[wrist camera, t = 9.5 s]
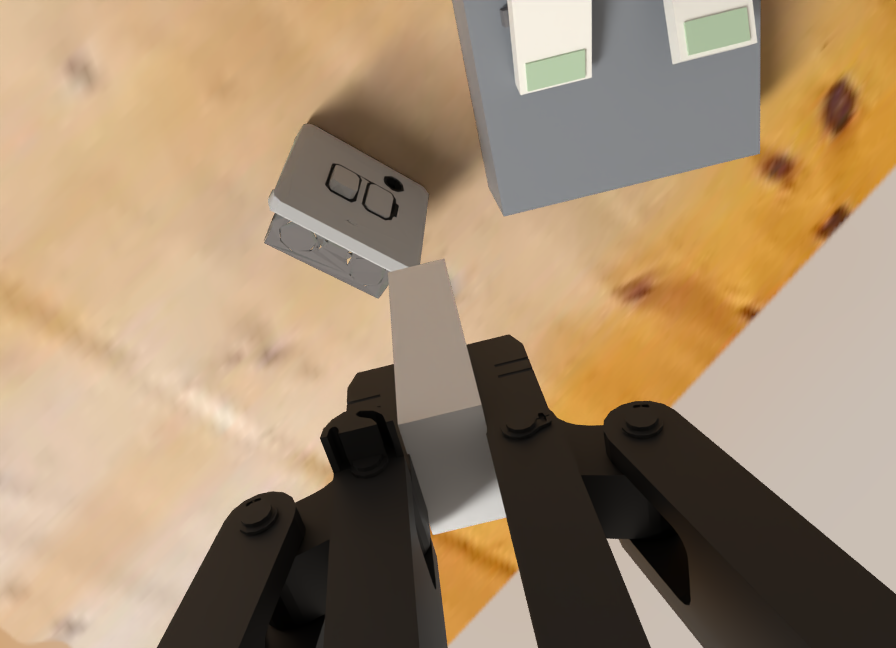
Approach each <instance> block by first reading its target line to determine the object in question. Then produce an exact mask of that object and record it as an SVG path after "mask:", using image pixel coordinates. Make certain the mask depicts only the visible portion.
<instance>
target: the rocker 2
mask: <svg viewBox="0 0 896 648" xmlns="http://www.w3.org/2000/svg"><path fill="white" fill-rule="evenodd" d="M663 3H664V10H665V17H666V23H667V30H668V37H669V44H670V51H671V57H672V64H677V63H681V62H685V61H689V60H693V59H697V58H701V57H705V56H709V55H713V54H717V53H721V52H725V51H729V50H733V49H737V48H741V47H745V46H749V45H752V44H755V43H757V36H756V27H755V18H754V10H753V1H752V0H663Z"/></svg>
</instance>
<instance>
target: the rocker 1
mask: <svg viewBox="0 0 896 648" xmlns="http://www.w3.org/2000/svg"><path fill="white" fill-rule="evenodd" d="M507 4H508V14H509V25H510V35H511V45H512V55H513V65H514V75H515V84H516V86H517V89H518V91H519V93H520V95H523V94H528V93H532V92H536V91H540V90H544V89H548V88H552V87H556V86H560V85H564V84H568V83H572V82H576V81H580V80H584V79H588V78H592V0H507Z"/></svg>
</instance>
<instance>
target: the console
mask: <svg viewBox="0 0 896 648" xmlns="http://www.w3.org/2000/svg"><path fill="white" fill-rule="evenodd" d="M752 1H753V10H754V18H755V27H756V36H757V43H755V44H752V45H749V46H745V47H741V48H737V49H733V50H729V51H725V52H721V53H717V54H713V55H709V56H705V57H701V58H697V59H693V60H689V61H685V62H681V63H677V64H672V57H671V51H670V44H669V37H668V30H667V23H666V17H665V10H664V3H663V0H592V78H588V79H584V80H580V81H576V82H572V83H568V84H564V85H560V86H556V87H552V88H548V89H544V90H540V91H536V92H532V93H528V94H523V95H520V93H519V91H518V89H517V86H516V84H515V75H514V65H513V55H512V45H511V35H510V25H509V14H508V4H507V0H452V3H453V8H454V13H455V18H456V23H457V28H458V34H459V39H460V44H461V49H462V54H463V59H464V64H465V69H466V74H467V79H468V85H469V90H470V95H471V100H472V105H473V110H474V115H475V120H476V125H477V131H478V136H479V141H480V146H481V151H482V156H483V161H484V166H485V171H486V176H487V182H488V187H489V189H490V191H491V193H492V195H493V197H494V199H495V201H496V202H497V204H498V206H499V208H500V210H501V212H502V214H503V216H508V215H512V214H516V213H520V212H524V211H528V210H532V209H536V208H540V207H544V206H549V205H553V204H557V203H561V202H565V201H569V200H573V199H577V198H581V197H585V196H589V195H593V194H597V193H601V192H606V191H610V190H614V189H618V188H622V187H626V186H630V185H634V184H638V183H642V182H646V181H650V180H654V179H658V178H662V177H667V176H671V175H675V174H679V173H683V172H687V171H691V170H695V169H699V168H703V167H707V166H711V165H715V164H719V163H724V162H728V161H732V160H736V159H740V158H744V157H748V156H752V155H756V154H760V12H761V0H752Z"/></svg>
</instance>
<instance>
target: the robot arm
mask: <svg viewBox="0 0 896 648" xmlns="http://www.w3.org/2000/svg"><path fill="white" fill-rule="evenodd" d="M388 282H389V297H390V312H391V328H392V343H393V358H394V364H392V365H388V366H384V367H380V368H376V369H372V370H368V371H364V372H359V373H357V374H356V376H355V377H354V379H353V380H352V382H351V383H350V385H349V387H348V390H347V411H346V412H343V413H342V414H340V415H339V416H337V417H335V418H334V419H332V420H331V421H330V422H329V423H328V424H327V426H326V427H325V428H324V429H323V431H322V434H321V437H320V439H321V442H322V445H323V447H324V450H325V452H326V455H327V457H328V460H329V462H330V465H331V467H332V470H333V472H334V478H333V481H332V482H330V483H329V484H328V485H327V486H325V487H324V488H323V489H321V490H319V491H317V492H316V493H314V494H312V495H310V496H308V497H306V498H304V499H302V500H300V501H298V502H296V503H295V502H294V500H293V498H292V497H291V496H289V495H287V494H286V493H284V492H273V491H272V492H267V493H262V494H258V495H256V496H254V497H252V498H250V499H248V500H246V501H244V502H243V503H241V504H240V505H239V506H238V507H236V508H235V509H234V510H233V511H232V512H231V513H230V515H229V516H228V517H227V519H226V520H225V521H224V523H223V525H222V527H221V529H220V531H219V532H218V534H217V536H216V538H215V540H214V542H213V544H212V546H211V547H210V549H209V551H208V553H207V555H206V557H205V559H204V561H203V562H202V564H201V566H200V568H199V570H198V572H197V574H196V575H195V577H194V579H193V581H192V583H191V585H190V587H189V589H188V590H187V592H186V594H185V596H184V598H183V600H182V602H181V604H180V605H179V607H178V609H177V611H176V613H175V615H174V617H173V619H172V620H171V622H170V624H169V626H168V628H167V630H166V632H165V634H164V635H163V637H162V639H161V641H160V643H159V645H158V647H157V648H448V647H447V639H446V630H445V622H444V614H443V605H442V597H441V589H440V580H439V572H438V563H437V556H436V553H435V550H434V546H433V543H432V540H431V536H430V527H431V530H432V533H433V535H435V534H439V533H443V532H447V531H451V530H456V529H460V528H464V527H468V526H472V525H476V524H481V523H485V522H489V521H493V520H497V519H501V518H507V522H508V526H509V530H510V534H511V539H512V543H513V547H514V551H515V555H516V559H517V563H518V567H519V571H520V575H521V579H522V583H523V588H524V592H525V596H526V600H527V604H528V608H529V612H530V617H531V620H532V625H533V629H534V633H535V637H536V641H537V645H538V648H651V647H650V645H649V642H648V640H647V637H646V635H645V632H644V630H643V627H642V625H641V622H640V620H639V617H638V615H637V613H636V610H635V608H634V605H633V603H632V600H631V598H630V595H629V593H628V591H627V588H626V586H625V583H624V581H623V578H622V576H621V573H620V571H619V568H618V566H617V564H616V561H615V558H614V556H613V553H612V551H611V549H610V546H609V544H608V541H607V539H606V538H610V539H619V540H620V543H621V545H622V547H623V548H624V549H625V551H626V552H627V553H628V554H629V556H630V557H631V558H632V559H633V561H634V562H635V563H636V564H637V566H639V568H640V569H641V571H642V572H643V573H644V574H645V575H646V577H647V578H648V579H649V580H650V582H651V583H652V584H653V585H654V587H655V588H656V589H657V590H658V592H659V593H660V594H661V595H662V597H663V598H664V599H665V600H666V602H667V603H668V604H669V605H670V607H671V608H672V609H673V610H674V611H675V613H676V614H677V615H678V617H679V618H680V619H681V620H682V621H683V622H684V624H685V625H686V626H687V628H688V629H689V630H690V631H691V633H692V634H693V635H694V636H695V638H696V639H697V640H698V641H699V642H700V644H701V645H702V646H703V648H896V594H895V593H894V592H893V591H892V590H890V589H889V588H888V587H887V586H885V585H884V584H883V583H882V582H881V581H879V580H878V579H877V578H876V577H875V576H873V575H872V574H871V573H870V572H869V571H867V570H866V569H865V568H864V567H863V566H861V565H860V564H859V563H858V562H857V561H855V560H854V559H853V558H852V557H851V556H849V555H848V554H847V553H846V552H845V551H843V550H842V549H841V548H840V547H838V546H837V545H836V544H835V543H834V542H832V541H831V540H830V539H829V538H828V537H826V536H825V535H824V534H823V533H822V532H821V531H819V530H818V529H817V528H816V527H815V526H813V525H812V524H811V523H810V522H809V521H807V520H806V519H805V518H804V517H803V516H801V515H800V514H799V513H798V512H797V511H795V510H794V509H793V508H792V507H791V506H789V505H788V504H787V503H786V502H785V501H783V500H782V499H781V498H780V497H779V496H777V495H776V494H775V493H774V492H773V491H771V490H770V489H769V488H768V487H767V486H765V485H764V484H763V483H762V482H760V481H759V480H758V479H757V478H756V477H754V476H753V475H752V474H751V473H750V472H749V471H747V470H746V469H745V468H744V467H742V466H741V465H740V464H739V463H738V462H736V461H735V460H734V459H733V458H732V457H730V456H729V455H728V454H727V453H726V452H725V451H723V450H722V449H721V448H720V447H719V446H717V445H716V444H715V443H714V442H712V441H711V440H710V439H709V438H708V437H706V436H705V435H704V434H703V433H702V432H700V431H699V430H698V429H697V428H696V427H694V426H693V425H692V424H691V423H690V422H688V421H687V420H686V419H685V418H684V417H682V416H681V415H680V414H679V413H678V412H676V411H675V410H674V409H672V408H670V407H668V406H666V405H665V404H661V403H656V402H652V401H635V402H631V403H627V404H623V405H621V406H619V407H617V408H616V409H614V410H612V411H611V412H610V413H609V414H608V416H607V417H606V418H605V420H604V425H596V426H586V425H575V424H571V423H567V422H565V421H562V420H560V419H558V418H557V417H556V416H555V415H554V413H553V412H552V411H551V410H549V408H548V406H547V403H546V401H545V399H544V396H543V394H542V391H541V389H540V386H539V384H538V381H537V379H536V376H535V374H534V371H533V369H532V366H531V364H530V361H529V359H528V356H527V354H526V351H525V349H524V346H523V344H522V343H521V342H519V341H518V340H516V339H515V338H513V337H512V336H511V335H505V336H501V337H496V338H492V339H488V340H484V341H480V342H476V343H472V344H468V345H466V342H465V338H464V334H463V330H462V326H461V322H460V318H459V314H458V310H457V306H456V303H455V299H454V295H453V291H452V287H451V283H450V279H449V275H448V271H447V267H446V263H445V259H440V260H436V261H432V262H428V263H424V264H420V265H416V266H412V267H408V268H404V269H400V270H396V271H391V272H388ZM429 524H430V527H429Z"/></svg>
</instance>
